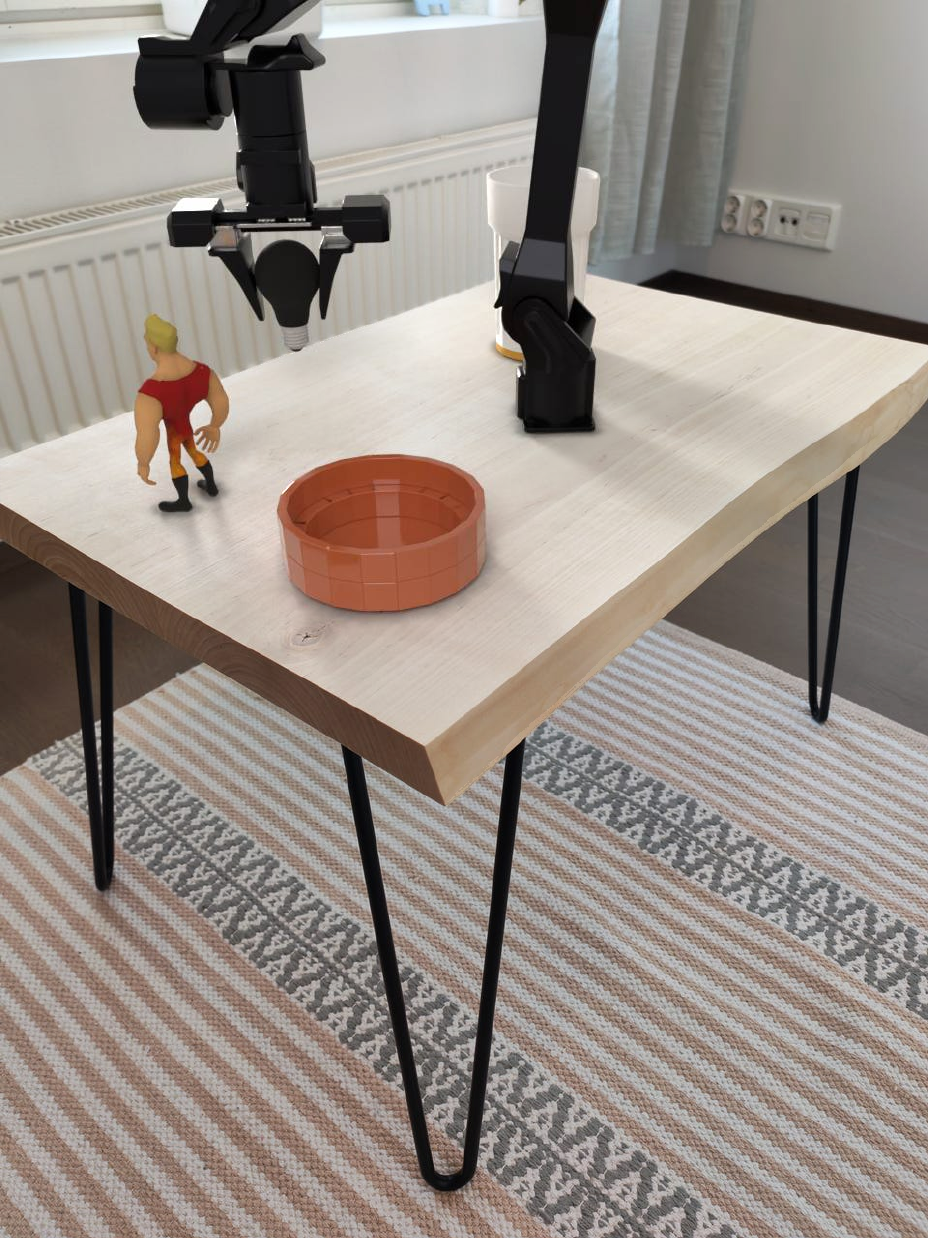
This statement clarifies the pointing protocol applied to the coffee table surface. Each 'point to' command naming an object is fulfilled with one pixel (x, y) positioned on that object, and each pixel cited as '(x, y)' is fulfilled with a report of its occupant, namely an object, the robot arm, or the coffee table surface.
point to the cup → (510, 220)
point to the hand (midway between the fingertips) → (293, 318)
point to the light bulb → (289, 287)
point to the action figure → (176, 412)
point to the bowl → (383, 531)
